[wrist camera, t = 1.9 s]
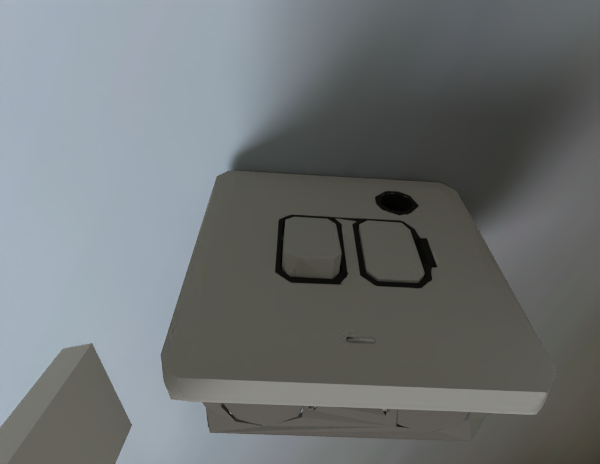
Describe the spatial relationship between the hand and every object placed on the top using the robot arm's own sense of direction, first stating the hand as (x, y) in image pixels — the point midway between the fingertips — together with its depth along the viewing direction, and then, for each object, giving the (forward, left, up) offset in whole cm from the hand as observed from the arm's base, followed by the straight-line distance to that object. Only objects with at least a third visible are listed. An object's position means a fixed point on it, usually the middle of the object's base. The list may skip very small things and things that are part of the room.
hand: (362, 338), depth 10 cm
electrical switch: (0, 0, -8) cm, 8 cm away
